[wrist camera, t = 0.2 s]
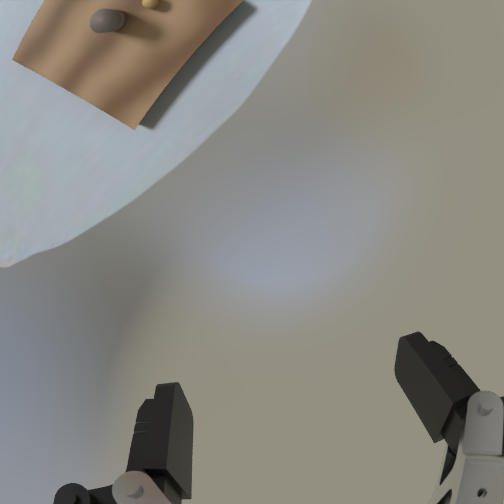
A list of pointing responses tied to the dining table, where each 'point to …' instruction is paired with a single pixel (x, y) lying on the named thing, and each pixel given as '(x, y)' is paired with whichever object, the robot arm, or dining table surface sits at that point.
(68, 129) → the dining table surface
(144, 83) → the post base
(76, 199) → the dining table surface
